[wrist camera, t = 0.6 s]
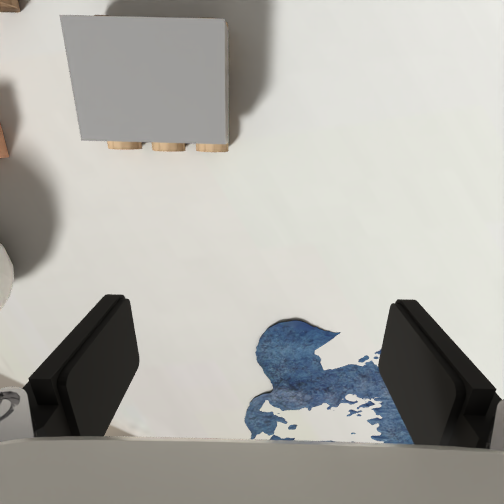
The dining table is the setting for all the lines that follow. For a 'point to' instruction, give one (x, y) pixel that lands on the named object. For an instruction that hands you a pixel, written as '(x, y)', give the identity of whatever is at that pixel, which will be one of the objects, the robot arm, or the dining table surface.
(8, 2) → the roller
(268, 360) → the blue ragged flat patch
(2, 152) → the block
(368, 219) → the dining table surface
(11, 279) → the white faceted ball
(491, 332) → the dining table surface
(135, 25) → the grey slab
